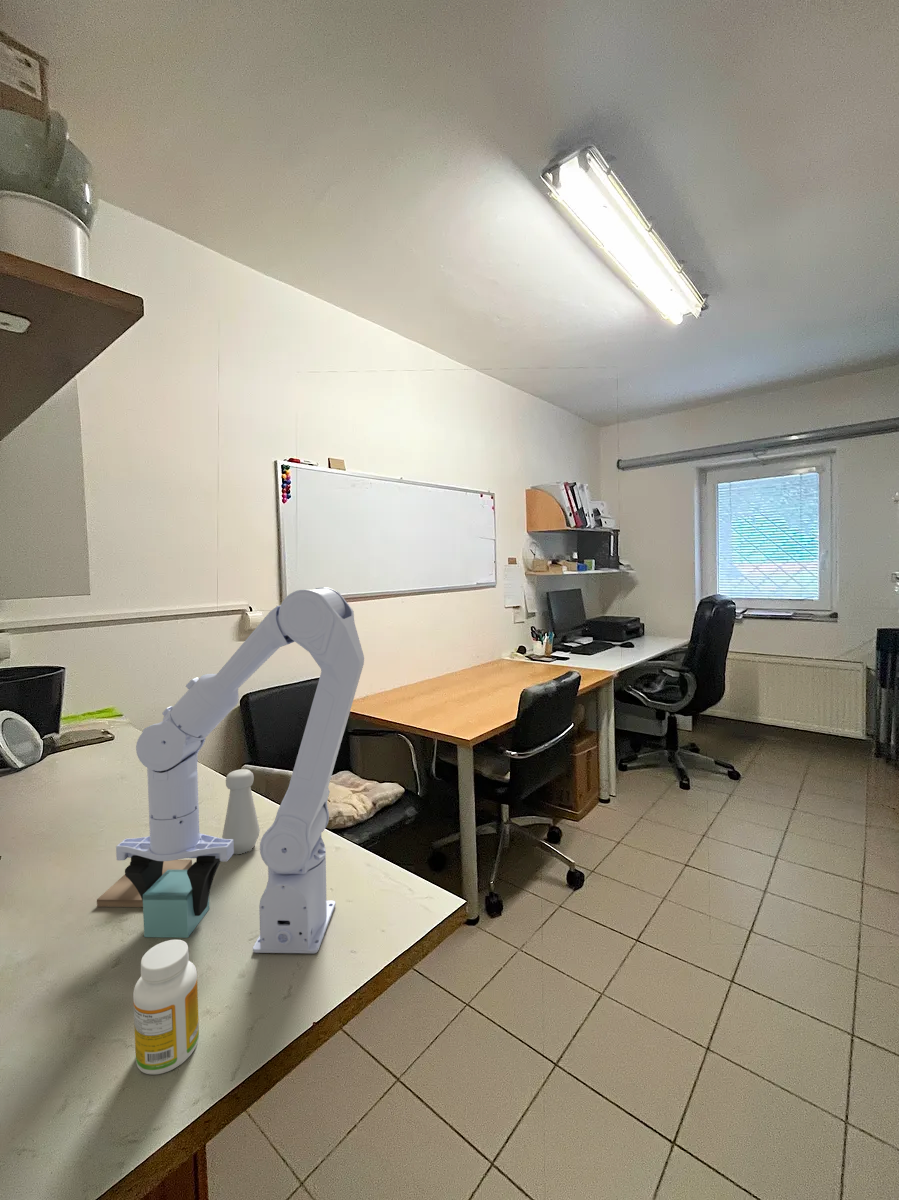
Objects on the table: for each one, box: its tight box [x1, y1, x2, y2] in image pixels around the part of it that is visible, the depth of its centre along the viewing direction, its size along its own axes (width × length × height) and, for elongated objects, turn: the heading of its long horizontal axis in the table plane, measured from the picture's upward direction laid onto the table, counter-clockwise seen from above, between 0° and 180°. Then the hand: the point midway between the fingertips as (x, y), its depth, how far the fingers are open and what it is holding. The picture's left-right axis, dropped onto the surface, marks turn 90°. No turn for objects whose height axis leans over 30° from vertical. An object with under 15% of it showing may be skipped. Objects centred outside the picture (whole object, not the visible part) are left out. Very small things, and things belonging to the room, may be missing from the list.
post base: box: [96, 859, 193, 908], centre depth 76 cm, size 10×8×6 cm
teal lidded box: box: [142, 870, 210, 939], centre depth 68 cm, size 6×6×6 cm
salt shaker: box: [221, 768, 261, 855], centre depth 86 cm, size 6×6×13 cm
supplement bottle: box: [132, 939, 200, 1075], centre depth 50 cm, size 5×5×10 cm
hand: (177, 910), depth 68 cm, fingers closed on teal lidded box, 6 cm apart
